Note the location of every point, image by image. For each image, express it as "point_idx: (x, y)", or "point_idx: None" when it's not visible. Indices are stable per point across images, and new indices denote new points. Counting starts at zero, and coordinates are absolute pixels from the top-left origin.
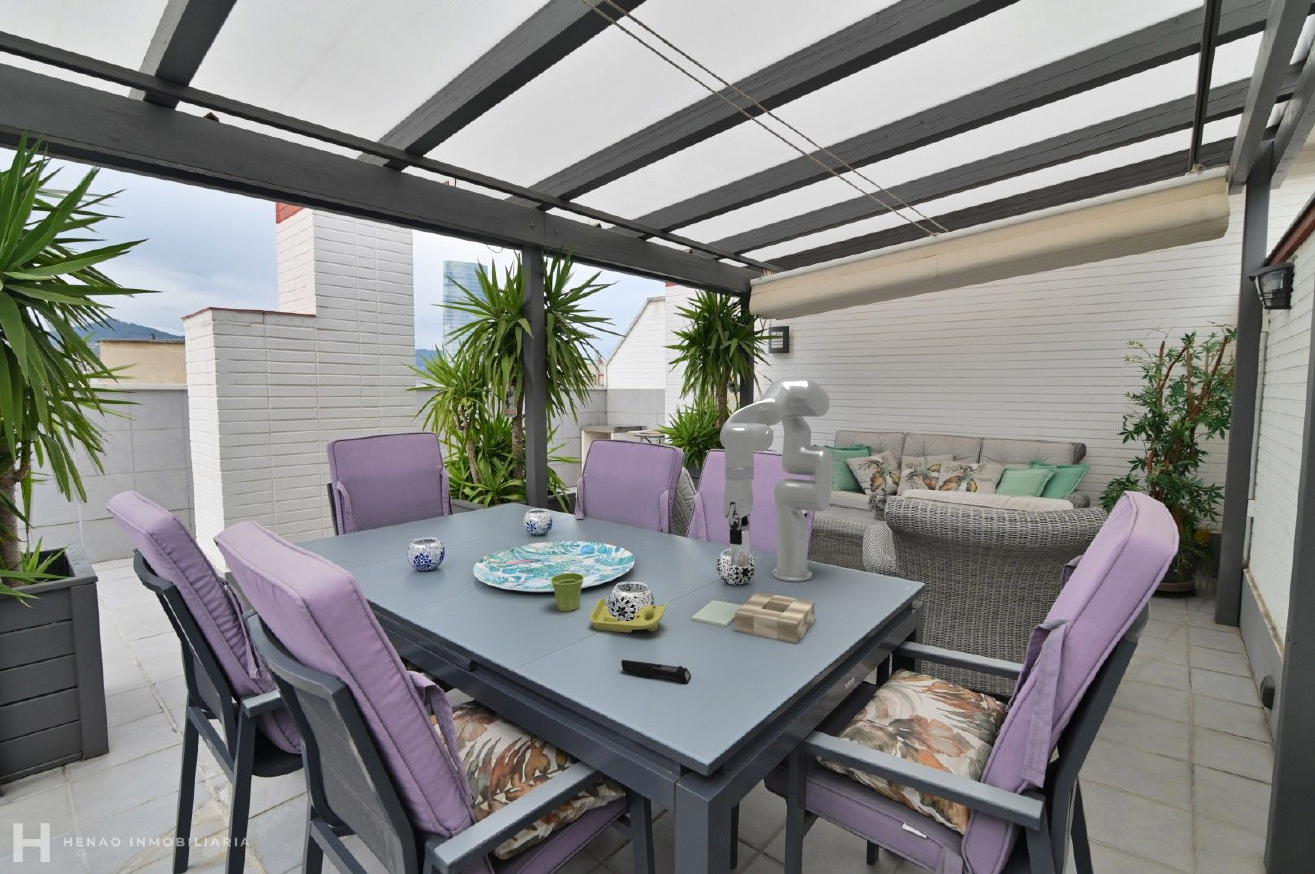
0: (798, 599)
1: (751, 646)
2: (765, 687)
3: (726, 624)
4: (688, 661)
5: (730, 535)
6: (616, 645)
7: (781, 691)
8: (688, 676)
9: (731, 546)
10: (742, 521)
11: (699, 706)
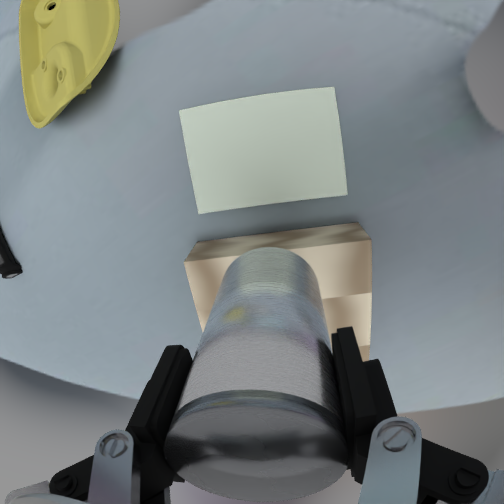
0: (365, 351)
1: (157, 305)
2: (79, 363)
3: (203, 212)
4: (43, 239)
5: (150, 388)
6: (10, 95)
7: (89, 380)
8: (15, 274)
9: (208, 320)
10: (364, 467)
11: (4, 313)
